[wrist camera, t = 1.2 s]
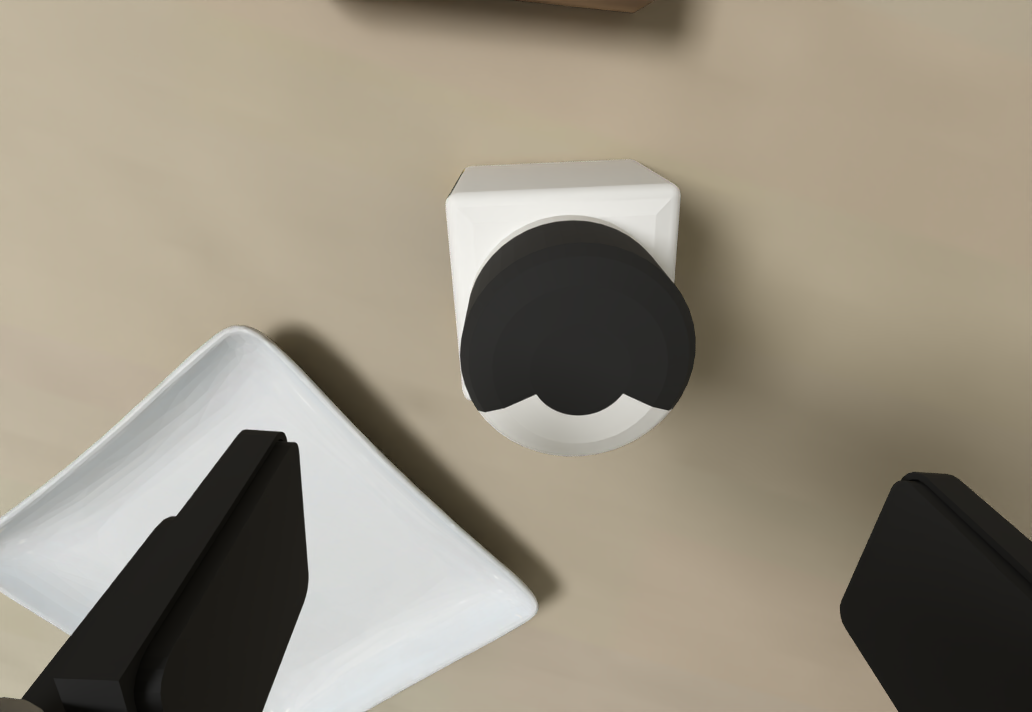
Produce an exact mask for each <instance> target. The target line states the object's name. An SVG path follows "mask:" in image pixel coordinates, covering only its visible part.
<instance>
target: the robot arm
mask: <svg viewBox="0 0 1032 712" xmlns="http://www.w3.org/2000/svg"><path fill="white" fill-rule="evenodd" d="M308 582H309V572H308V559H307V545H306V532H305V519H304V506H303V493H302V480H301V467H300V454H299V447H298V444H297V443H296V442H287V437H286V435H285V433H283V432H280V431H265V430H249V429H245V430H242V431H241V432H240V433H239V434H238V435H237V436H236V438H235V439H234V440H233V442H232V443H231V444H230V446H229V447H228V448H227V450H226V451H225V452H224V454H223V455H222V456H221V458H220V459H219V460H218V461H217V463H216V464H215V465H214V467H213V468H212V469H211V471H210V472H209V473H208V475H207V476H206V477H205V479H204V480H203V481H202V483H201V484H200V485H199V487H198V488H197V489H196V491H195V492H194V493H193V495H192V496H191V497H190V499H189V500H188V501H187V502H186V504H185V505H184V506H183V508H182V509H181V510H180V512H179V513H178V514H177V516H170V517H168V518H166V519H164V520H163V521H162V522H161V523H160V524H159V525H158V526H157V527H156V528H155V529H154V530H153V531H152V533H151V534H150V535H149V536H148V538H147V539H146V540H145V542H144V543H143V544H142V545H141V547H140V548H139V549H138V550H137V552H136V553H135V554H134V556H133V557H132V558H131V559H130V561H129V562H128V563H127V565H126V566H125V567H124V568H123V570H122V571H121V572H120V573H119V575H118V576H117V577H116V579H115V580H114V581H113V582H112V584H111V585H110V586H109V587H108V589H107V590H106V591H105V593H104V594H103V595H102V596H101V598H100V599H99V600H98V602H97V603H96V604H95V605H94V607H93V608H92V609H91V610H90V612H89V613H88V614H87V616H86V617H85V618H84V619H83V621H82V622H81V623H80V625H79V626H78V627H77V628H76V630H75V631H74V632H73V633H72V635H71V636H70V637H69V639H68V640H67V641H66V642H65V644H64V645H63V646H62V647H61V649H60V650H59V651H58V653H57V654H56V655H55V656H54V658H53V659H52V660H51V662H50V663H49V664H48V665H47V667H46V668H45V669H44V670H43V672H42V673H41V674H40V676H39V677H38V678H37V679H36V681H35V682H34V683H33V685H32V686H31V687H30V688H29V690H28V691H27V692H26V693H25V695H24V696H23V697H22V699H14V698H6V697H2V698H0V712H263V709H264V706H265V704H266V701H267V699H268V696H269V693H270V691H271V688H272V685H273V683H274V680H275V678H276V675H277V672H278V670H279V667H280V664H281V662H282V659H283V657H284V654H285V651H286V649H287V646H288V643H289V641H290V638H291V636H292V633H293V630H294V628H295V625H296V623H297V620H298V617H299V615H300V612H301V609H302V607H303V604H304V601H305V598H306V594H307V590H308ZM840 614H841V619H842V622H843V624H844V626H845V628H846V630H847V631H848V633H849V635H850V636H851V638H852V639H853V641H854V643H855V644H856V646H857V647H858V649H859V650H860V652H861V654H862V655H863V657H864V658H865V660H866V661H867V663H868V665H869V666H870V668H871V669H872V671H873V672H874V674H875V676H876V677H877V679H878V680H879V682H880V683H881V685H882V687H883V688H884V690H885V691H886V693H887V694H888V696H889V698H890V699H891V701H892V702H893V704H894V705H895V707H896V709H897V710H898V712H1032V542H1031V541H1030V540H1029V539H1028V538H1027V537H1026V536H1024V535H1023V534H1022V533H1021V532H1020V531H1019V530H1017V529H1016V528H1015V527H1014V526H1013V525H1012V524H1010V523H1009V522H1008V521H1007V520H1006V519H1005V518H1003V517H1002V516H1001V515H1000V514H999V513H998V512H996V511H995V510H994V509H993V508H992V507H991V506H989V505H988V504H987V503H986V502H985V501H984V500H982V499H981V498H980V497H979V496H978V495H977V494H975V493H974V492H973V491H972V490H971V489H970V488H968V487H967V486H966V485H965V484H964V483H963V482H961V481H960V480H959V479H958V478H956V477H954V476H953V475H948V474H938V473H922V472H912V473H908V474H907V475H905V476H904V477H903V478H902V480H901V481H898V482H896V483H895V484H894V485H893V487H892V488H891V490H890V493H889V495H888V497H887V499H886V502H885V504H884V506H883V508H882V511H881V513H880V515H879V517H878V520H877V522H876V524H875V526H874V529H873V531H872V533H871V535H870V538H869V540H868V542H867V544H866V547H865V549H864V551H863V553H862V556H861V558H860V560H859V562H858V565H857V567H856V569H855V571H854V574H853V576H852V578H851V580H850V583H849V585H848V587H847V589H846V592H845V594H844V596H843V598H842V601H841V604H840Z"/></svg>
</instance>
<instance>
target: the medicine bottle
mask: <svg viewBox="0 0 1032 712" xmlns="http://www.w3.org/2000/svg"><path fill="white" fill-rule="evenodd" d="M680 199H681V194H680V189H679V188H678V187H677V186H676V185H675V184H674V183H672V182H670V181H669V180H667V179H665V178H664V177H662V176H660V175H659V174H657V173H655V172H654V171H652V170H650V169H649V168H647V167H645V166H644V165H642V164H640V163H639V162H637V161H636V160H632V159H618V160H595V161H573V162H551V163H529V164H506V165H484V166H469V167H466V168H465V169H464V171H463V172H462V174H461V175H460V177H459V179H458V180H457V182H456V184H455V186H454V187H453V189H452V191H451V193H450V194H449V196H448V198H447V200H446V205H445V206H446V217H447V228H448V239H449V250H450V261H451V271H452V282H453V293H454V304H455V315H456V326H457V337H458V348H459V359H460V369H461V380H462V391H463V393H464V396H465V398H467V399H468V400H470V401H472V402H473V403H474V405H475V407H476V408H477V410H478V411H479V413H480V414H481V415H482V416H483V417H484V419H485V420H486V421H487V422H488V423H489V424H490V425H491V426H492V427H493V428H495V429H496V430H497V431H498V432H499V433H501V434H502V435H504V436H505V437H507V438H508V439H509V440H511V441H513V442H515V443H517V444H519V445H521V446H523V447H526V448H529V449H531V450H534V451H537V452H541V453H546V454H550V455H558V456H587V455H595V454H599V453H603V452H607V451H611V450H614V449H617V448H619V447H622V446H625V445H627V444H629V443H631V442H633V441H635V440H637V439H638V438H640V437H641V436H643V435H644V434H646V433H647V432H649V431H650V430H652V429H653V428H654V427H655V426H656V425H657V424H659V423H660V422H661V421H662V420H663V419H664V418H665V417H666V416H667V415H668V413H669V412H670V411H671V410H672V409H673V408H674V406H675V405H676V403H677V402H678V400H679V399H680V397H681V396H682V394H683V392H684V390H685V388H686V386H687V384H688V381H689V378H690V375H691V372H692V369H693V364H694V358H695V331H694V324H693V321H692V317H691V314H690V311H689V308H688V306H687V304H686V302H685V300H684V298H683V296H682V294H681V293H680V291H679V290H678V289H677V287H676V286H675V284H674V279H675V266H676V252H677V239H678V226H679V213H680Z"/></svg>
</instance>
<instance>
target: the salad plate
mask: <svg viewBox="0 0 1032 712" xmlns="http://www.w3.org/2000/svg"><path fill="white" fill-rule="evenodd" d="M245 429H249V430H265V431H280V432H283V433H285V435H286V437H287V442H296V443H297V444H298V447H299V454H300V467H301V480H302V493H303V506H304V519H305V532H306V545H307V559H308V572H309V582H308V590H307V594H306V598H305V601H304V604H303V607H302V609H301V612H300V615H299V617H298V620H297V623H296V625H295V628H294V630H293V633H292V636H291V638H290V641H289V643H288V646H287V649H286V651H285V654H284V657H283V659H282V662H281V664H280V667H279V670H278V672H277V675H276V678H275V680H274V683H273V685H272V688H271V691H270V693H269V696H268V699H267V701H266V704H265V706H264V709H263V712H366V711H367V710H369V709H371V708H373V707H374V706H376V705H378V704H380V703H381V702H383V701H385V700H387V699H388V698H390V697H392V696H394V695H396V694H397V693H399V692H401V691H403V690H405V689H406V688H408V687H410V686H412V685H414V684H415V683H417V682H419V681H421V680H423V679H424V678H426V677H428V676H430V675H432V674H433V673H435V672H437V671H439V670H441V669H442V668H444V667H446V666H448V665H450V664H452V663H453V662H455V661H457V660H459V659H461V658H463V657H465V656H466V655H468V654H470V653H472V652H474V651H476V650H477V649H479V648H481V647H483V646H485V645H487V644H489V643H491V642H492V641H494V640H496V639H498V638H500V637H502V636H503V635H505V634H507V633H509V632H510V631H512V630H514V629H516V628H517V627H519V626H521V625H523V624H524V623H525V622H527V621H528V620H530V619H531V618H533V617H534V616H535V615H536V613H537V611H538V601H537V599H536V597H535V595H534V594H533V592H532V591H531V590H530V589H529V587H528V586H527V585H526V584H525V583H524V582H523V581H522V580H521V579H520V578H519V577H518V576H517V575H515V574H514V573H513V572H512V571H511V570H510V569H509V568H507V567H506V566H505V565H504V564H503V563H502V562H500V561H499V560H498V559H497V558H496V557H494V556H493V555H492V554H491V553H490V552H489V551H488V550H486V549H485V548H484V547H483V546H482V545H481V544H480V543H478V542H477V541H476V540H475V539H474V538H473V537H472V536H470V535H469V534H468V533H467V532H466V531H465V530H464V529H462V528H461V527H460V526H459V525H458V524H457V523H456V522H455V521H454V520H452V519H451V518H450V517H449V516H448V515H447V514H446V513H445V512H444V511H443V510H442V509H441V508H439V507H438V506H437V505H436V504H435V503H434V502H433V501H432V500H431V499H430V498H429V497H428V496H427V495H425V494H424V493H423V492H422V491H421V490H420V489H419V488H418V487H417V486H416V485H415V484H414V483H413V482H411V481H410V480H409V479H408V478H407V477H406V476H405V475H404V474H403V473H402V472H401V471H400V470H399V469H398V468H397V467H396V466H395V465H394V464H393V463H392V462H391V461H390V460H389V459H388V458H386V457H385V456H384V455H383V454H382V453H381V452H380V451H379V450H378V449H377V448H376V447H375V446H374V444H373V443H372V442H371V441H370V440H369V439H368V438H367V437H366V436H365V435H364V434H363V433H362V432H361V431H360V430H359V429H358V428H357V427H356V426H355V425H354V424H353V423H352V422H351V421H350V420H349V419H348V418H347V417H346V416H345V415H344V414H343V413H342V412H341V410H340V409H339V408H338V407H337V406H336V405H335V404H334V403H333V402H332V401H331V400H330V399H329V398H328V397H327V396H326V395H325V393H324V392H323V391H322V390H321V389H320V388H319V387H318V386H317V385H316V384H315V383H314V382H313V381H312V380H311V379H310V377H309V376H308V375H307V374H306V373H305V372H304V371H303V370H302V369H301V368H300V367H299V366H298V365H297V364H296V363H295V362H294V361H293V360H292V359H291V358H290V357H289V356H288V355H287V354H286V353H285V352H284V351H282V350H281V349H280V348H279V347H278V346H277V345H276V344H275V343H274V342H273V341H272V340H270V339H269V338H268V337H267V336H266V335H265V334H263V333H262V332H260V331H259V330H257V329H254V328H252V327H248V326H243V325H236V326H230V327H228V328H226V329H223V330H222V331H220V332H219V333H217V334H216V335H214V336H213V337H212V338H211V339H209V340H208V341H207V342H205V343H204V344H203V345H202V346H201V347H200V348H198V349H197V350H196V351H195V352H194V353H193V354H191V355H190V356H189V357H188V358H187V359H186V360H185V361H183V362H182V363H181V364H180V365H179V366H178V367H177V368H176V369H175V370H174V371H173V372H172V373H171V374H170V375H169V376H168V377H166V378H165V379H164V380H163V381H162V382H161V383H160V384H159V385H158V386H157V387H156V388H155V389H154V390H152V391H151V392H150V393H149V394H148V395H147V396H146V397H145V398H144V399H143V400H142V401H141V402H140V403H139V404H138V405H136V406H135V407H134V408H133V409H132V410H131V411H130V412H129V413H128V414H127V415H126V416H125V417H123V418H122V419H121V420H120V421H119V422H118V423H117V424H116V425H115V426H114V427H113V428H112V429H110V430H109V431H108V432H107V433H106V434H105V435H103V436H102V437H101V438H100V439H99V440H98V441H96V442H95V443H94V444H93V445H92V446H91V447H89V448H88V449H87V450H86V451H85V452H84V453H82V454H81V455H80V456H79V457H78V458H77V459H75V460H74V461H73V462H72V463H71V464H69V465H68V466H67V467H66V468H65V469H63V470H62V471H61V472H59V473H58V474H57V475H55V476H54V477H53V478H51V479H50V480H49V481H48V482H46V483H45V484H44V485H42V486H41V487H40V488H39V489H37V490H36V491H35V492H33V493H32V494H31V495H30V496H28V497H27V498H26V499H24V500H23V501H22V502H20V503H19V504H18V505H16V506H15V507H14V508H12V509H11V510H10V511H8V512H7V513H6V514H4V515H3V516H2V517H0V592H2V593H3V594H5V595H6V596H8V597H9V598H11V599H12V600H14V601H15V602H17V603H19V604H20V605H22V606H23V607H25V608H27V609H28V610H30V611H32V612H33V613H35V614H36V615H38V616H40V617H41V618H43V619H44V620H46V621H48V622H49V623H51V624H53V625H54V626H56V627H57V628H59V629H61V630H62V631H64V632H65V633H67V634H68V635H70V636H71V635H72V633H73V632H74V631H75V630H76V628H77V627H78V626H79V625H80V623H81V622H82V621H83V619H84V618H85V617H86V616H87V614H88V613H89V612H90V610H91V609H92V608H93V607H94V605H95V604H96V603H97V602H98V600H99V599H100V598H101V596H102V595H103V594H104V593H105V591H106V590H107V589H108V587H109V586H110V585H111V584H112V582H113V581H114V580H115V579H116V577H117V576H118V575H119V573H120V572H121V571H122V570H123V568H124V567H125V566H126V565H127V563H128V562H129V561H130V559H131V558H132V557H133V556H134V554H135V553H136V552H137V550H138V549H139V548H140V547H141V545H142V544H143V543H144V542H145V540H146V539H147V538H148V536H149V535H150V534H151V533H152V531H153V530H154V529H155V528H156V527H157V526H158V525H159V524H160V523H161V522H162V521H163V520H164V519H166V518H168V517H170V516H177V514H178V513H179V512H180V510H181V509H182V508H183V506H184V505H185V504H186V502H187V501H188V500H189V499H190V497H191V496H192V495H193V493H194V492H195V491H196V489H197V488H198V487H199V485H200V484H201V483H202V481H203V480H204V479H205V477H206V476H207V475H208V473H209V472H210V471H211V469H212V468H213V467H214V465H215V464H216V463H217V461H218V460H219V459H220V458H221V456H222V455H223V454H224V452H225V451H226V450H227V448H228V447H229V446H230V444H231V443H232V442H233V440H234V439H235V438H236V436H237V435H238V434H239V433H240V432H241V431H242V430H245Z"/></svg>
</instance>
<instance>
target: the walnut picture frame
mask: <svg viewBox="0 0 1032 712" xmlns="http://www.w3.org/2000/svg"><path fill="white" fill-rule="evenodd" d="M516 1H526V2H535V3H544V4H554V5H563V6H572V7H582V8H591V9H600V10H610V11H619V12H629V13H634V12H636V11H638V10H639V9H641V8H643V7H644V6H646V5H648V4H649V3H651V2H653V1H654V0H516Z"/></svg>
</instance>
